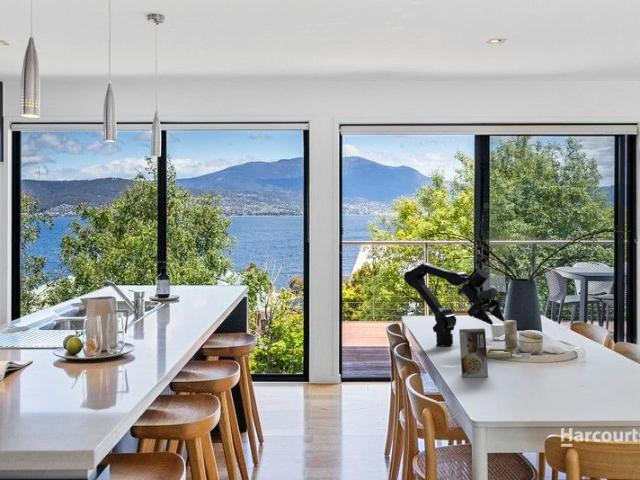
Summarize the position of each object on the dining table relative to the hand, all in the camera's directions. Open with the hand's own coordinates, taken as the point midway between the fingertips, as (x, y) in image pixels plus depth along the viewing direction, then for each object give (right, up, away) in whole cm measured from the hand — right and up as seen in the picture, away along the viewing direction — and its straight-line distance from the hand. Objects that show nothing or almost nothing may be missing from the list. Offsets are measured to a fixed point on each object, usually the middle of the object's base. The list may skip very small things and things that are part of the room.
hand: (498, 322), depth 278 cm
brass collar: (-3, -11, -12) cm, 17 cm away
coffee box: (-19, -14, -41) cm, 47 cm away
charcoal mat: (-1, -12, -6) cm, 13 cm away
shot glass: (+8, -11, +27) cm, 30 cm away
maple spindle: (+4, -11, -4) cm, 12 cm away
